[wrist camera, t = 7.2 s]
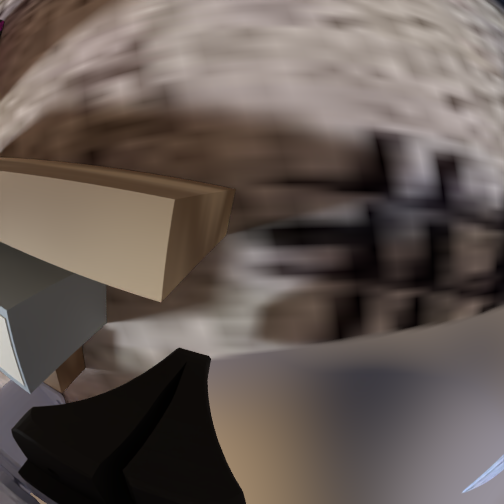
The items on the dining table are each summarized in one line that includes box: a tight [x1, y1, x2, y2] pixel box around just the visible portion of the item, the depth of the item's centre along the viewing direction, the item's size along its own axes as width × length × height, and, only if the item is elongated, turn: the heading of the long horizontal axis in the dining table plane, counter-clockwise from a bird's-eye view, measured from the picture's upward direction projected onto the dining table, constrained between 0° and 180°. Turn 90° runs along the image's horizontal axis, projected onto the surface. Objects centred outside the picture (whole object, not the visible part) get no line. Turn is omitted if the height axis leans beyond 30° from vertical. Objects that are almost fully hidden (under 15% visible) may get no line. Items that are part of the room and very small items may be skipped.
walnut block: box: [44, 346, 85, 393], centre depth 13 cm, size 3×6×3 cm, turn 78°
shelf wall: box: [0, 157, 236, 302], centre depth 9 cm, size 2×18×7 cm, turn 78°
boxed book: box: [0, 242, 107, 394], centre depth 10 cm, size 4×10×7 cm, turn 78°
